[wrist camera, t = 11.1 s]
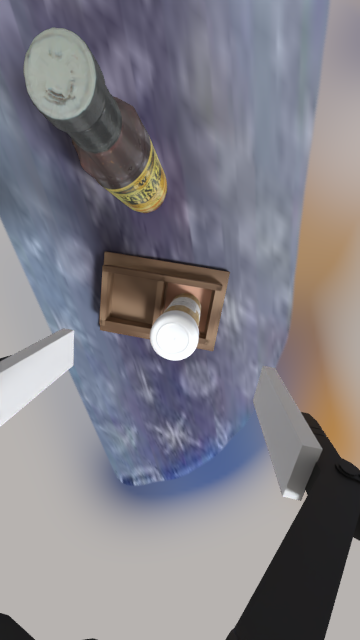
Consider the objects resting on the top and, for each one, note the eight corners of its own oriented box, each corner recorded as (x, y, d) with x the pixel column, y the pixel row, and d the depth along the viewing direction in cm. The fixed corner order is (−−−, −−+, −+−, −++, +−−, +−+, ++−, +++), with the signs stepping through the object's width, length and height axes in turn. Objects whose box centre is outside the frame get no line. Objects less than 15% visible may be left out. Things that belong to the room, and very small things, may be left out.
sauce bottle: (146, 224, 32) (59, 181, 13) (114, 188, 32) (-26, 88, 13) (180, 188, 31) (137, 79, 12) (148, 149, 30) (44, -37, 11)
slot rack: (106, 251, 34) (97, 251, 31) (229, 271, 33) (231, 273, 30) (102, 328, 37) (93, 334, 34) (213, 349, 36) (213, 357, 33)
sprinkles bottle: (193, 327, 35) (186, 369, 22) (165, 314, 35) (141, 349, 22) (206, 299, 33) (206, 327, 20) (177, 286, 33) (159, 306, 20)
